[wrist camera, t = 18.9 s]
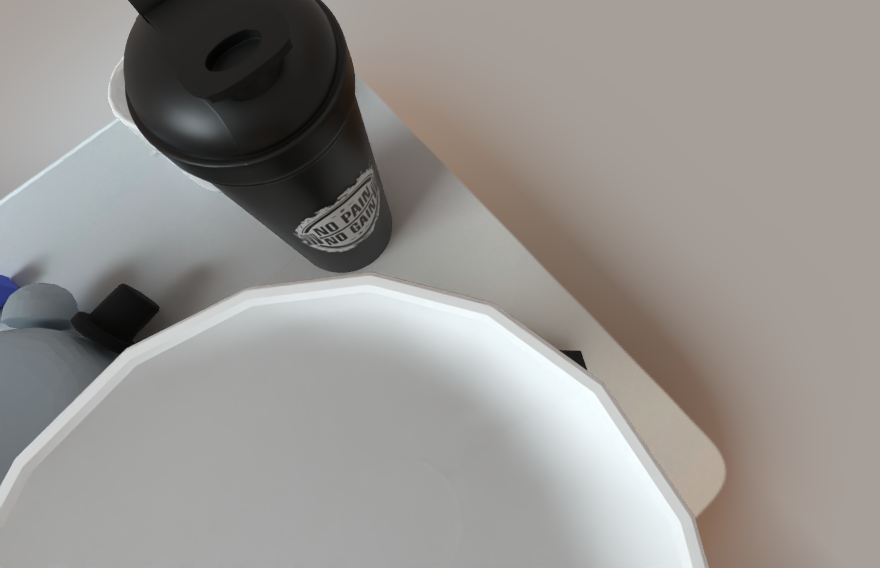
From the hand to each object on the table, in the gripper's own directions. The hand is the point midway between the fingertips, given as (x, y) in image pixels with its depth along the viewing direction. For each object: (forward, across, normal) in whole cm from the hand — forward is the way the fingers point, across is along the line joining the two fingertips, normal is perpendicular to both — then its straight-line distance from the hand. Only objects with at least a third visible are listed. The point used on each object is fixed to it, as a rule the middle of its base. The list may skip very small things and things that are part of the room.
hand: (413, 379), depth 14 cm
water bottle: (+25, -9, -6) cm, 28 cm away
